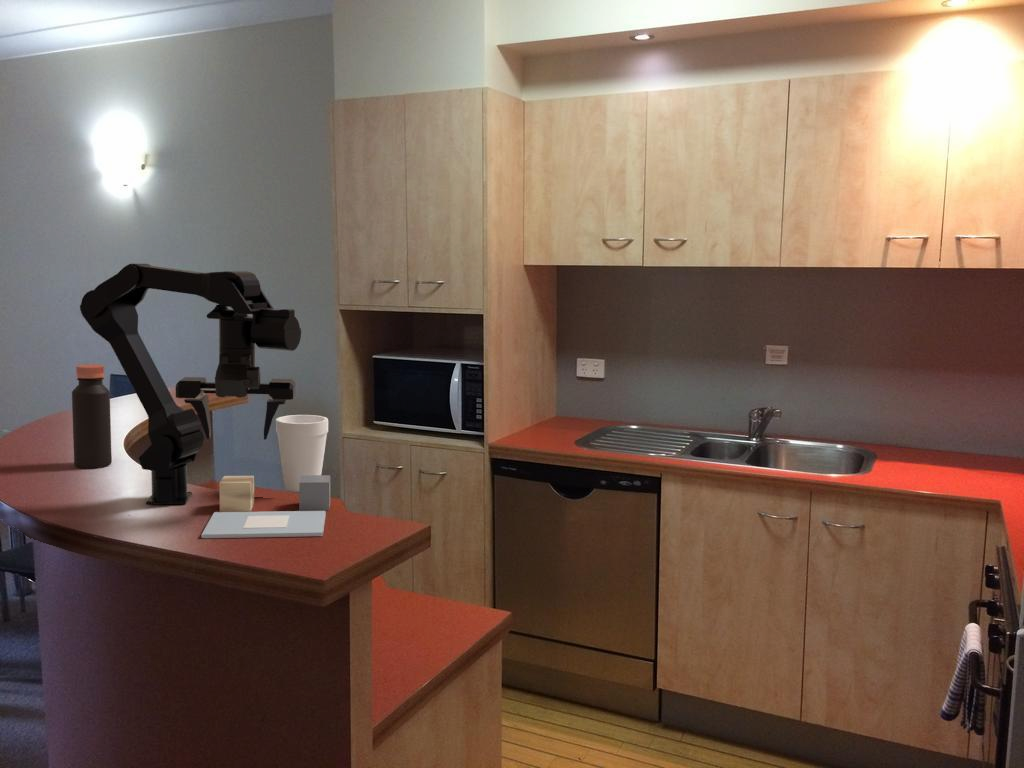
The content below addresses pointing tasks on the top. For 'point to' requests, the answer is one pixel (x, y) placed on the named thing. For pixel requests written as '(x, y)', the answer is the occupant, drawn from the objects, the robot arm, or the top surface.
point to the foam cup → (301, 446)
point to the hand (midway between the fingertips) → (237, 438)
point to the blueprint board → (265, 524)
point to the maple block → (236, 493)
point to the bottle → (91, 419)
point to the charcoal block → (314, 492)
